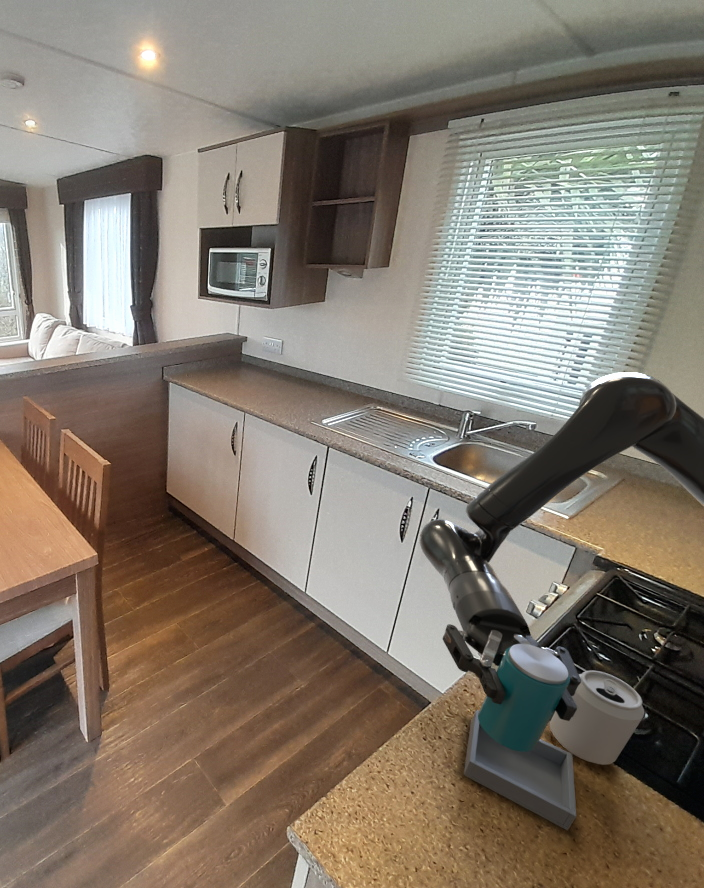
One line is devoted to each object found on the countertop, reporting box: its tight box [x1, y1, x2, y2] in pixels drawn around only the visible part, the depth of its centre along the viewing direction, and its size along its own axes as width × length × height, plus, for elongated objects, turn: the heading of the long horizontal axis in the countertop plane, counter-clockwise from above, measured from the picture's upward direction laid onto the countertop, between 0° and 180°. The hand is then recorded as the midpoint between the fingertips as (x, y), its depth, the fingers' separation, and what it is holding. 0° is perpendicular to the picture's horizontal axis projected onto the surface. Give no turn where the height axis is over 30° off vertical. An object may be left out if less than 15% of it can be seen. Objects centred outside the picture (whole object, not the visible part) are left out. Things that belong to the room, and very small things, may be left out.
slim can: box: [478, 644, 570, 752], centre depth 59 cm, size 6×6×12 cm
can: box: [548, 669, 645, 766], centre depth 70 cm, size 8×8×12 cm
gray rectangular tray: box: [463, 709, 577, 831], centre depth 68 cm, size 11×10×3 cm
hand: (533, 706), depth 56 cm, fingers closed on slim can, 6 cm apart
